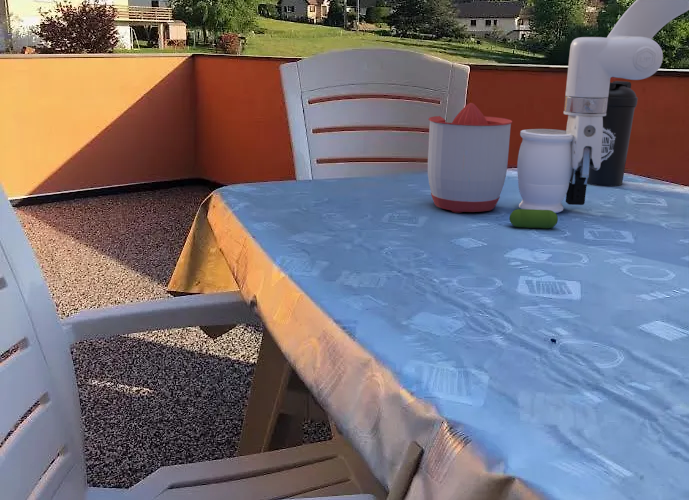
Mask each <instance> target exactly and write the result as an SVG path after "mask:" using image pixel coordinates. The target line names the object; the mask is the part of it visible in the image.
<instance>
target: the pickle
mask: <svg viewBox="0 0 689 500" xmlns="http://www.w3.org/2000/svg"><path fill="white" fill-rule="evenodd" d="M558 220H559V217H558V215H557V213H555V212H553V211H551V210H534V209H521V208H517V209H514V210H512V211H511V213H510V215H509V222H510V224H511V225H512V226H513V227H515V228H523V229H524V228H525V229H527V228H528V229H552V228H554V227H555V226H556V225H557V223H558Z"/></svg>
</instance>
